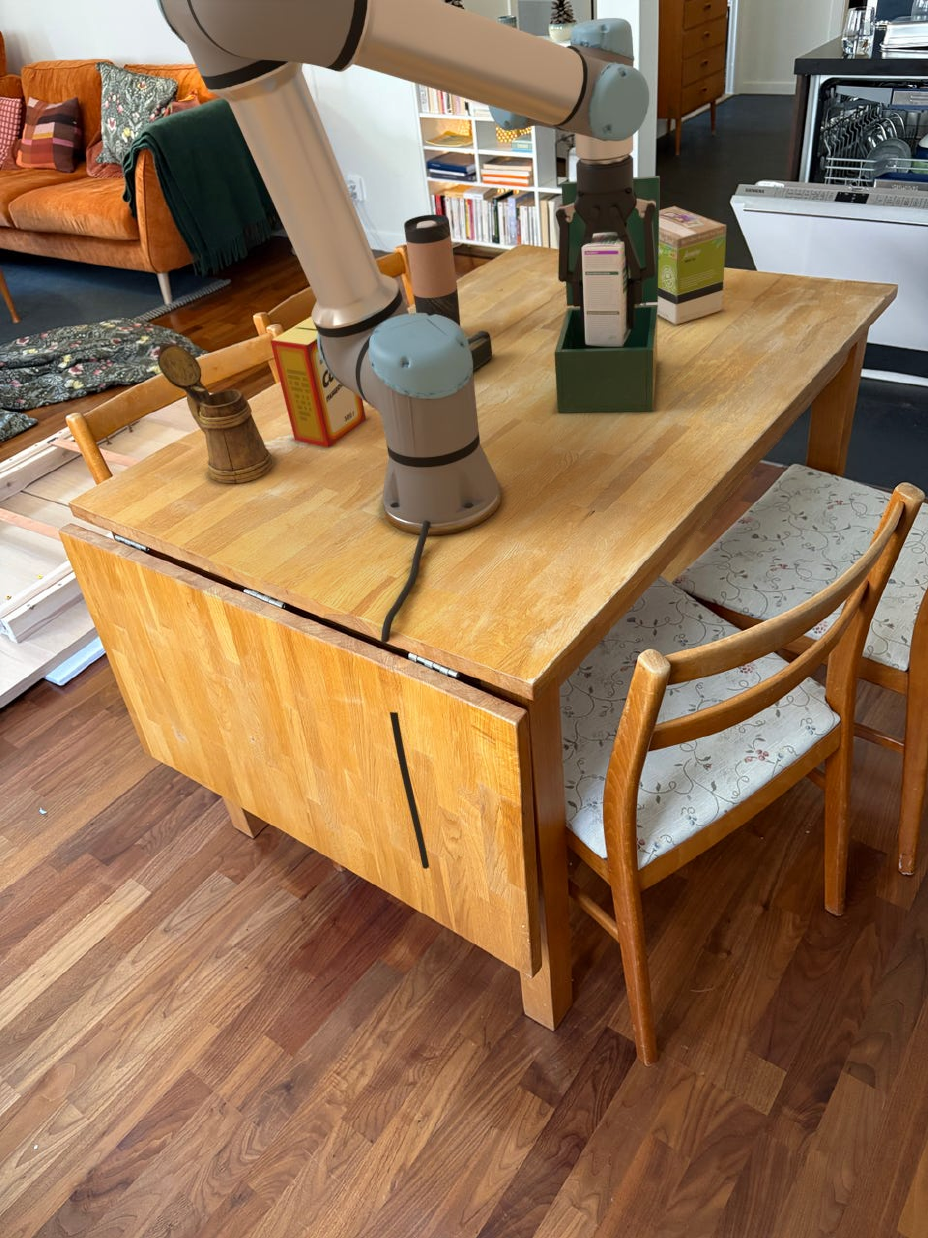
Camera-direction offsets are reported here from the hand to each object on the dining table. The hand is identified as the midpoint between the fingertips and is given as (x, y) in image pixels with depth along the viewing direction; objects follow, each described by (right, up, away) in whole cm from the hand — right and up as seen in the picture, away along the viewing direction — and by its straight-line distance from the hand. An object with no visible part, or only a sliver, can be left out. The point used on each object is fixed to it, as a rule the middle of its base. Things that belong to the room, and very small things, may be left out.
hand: (607, 325), depth 140 cm
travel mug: (-25, +6, +29) cm, 39 cm away
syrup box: (0, -2, +1) cm, 2 cm away
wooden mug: (-55, -21, -1) cm, 59 cm away
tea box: (+16, +12, +28) cm, 35 cm away
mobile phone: (-21, -3, +16) cm, 27 cm away
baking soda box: (-41, -14, +5) cm, 44 cm away
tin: (+1, -8, +6) cm, 10 cm away
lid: (0, +12, 0) cm, 12 cm away
